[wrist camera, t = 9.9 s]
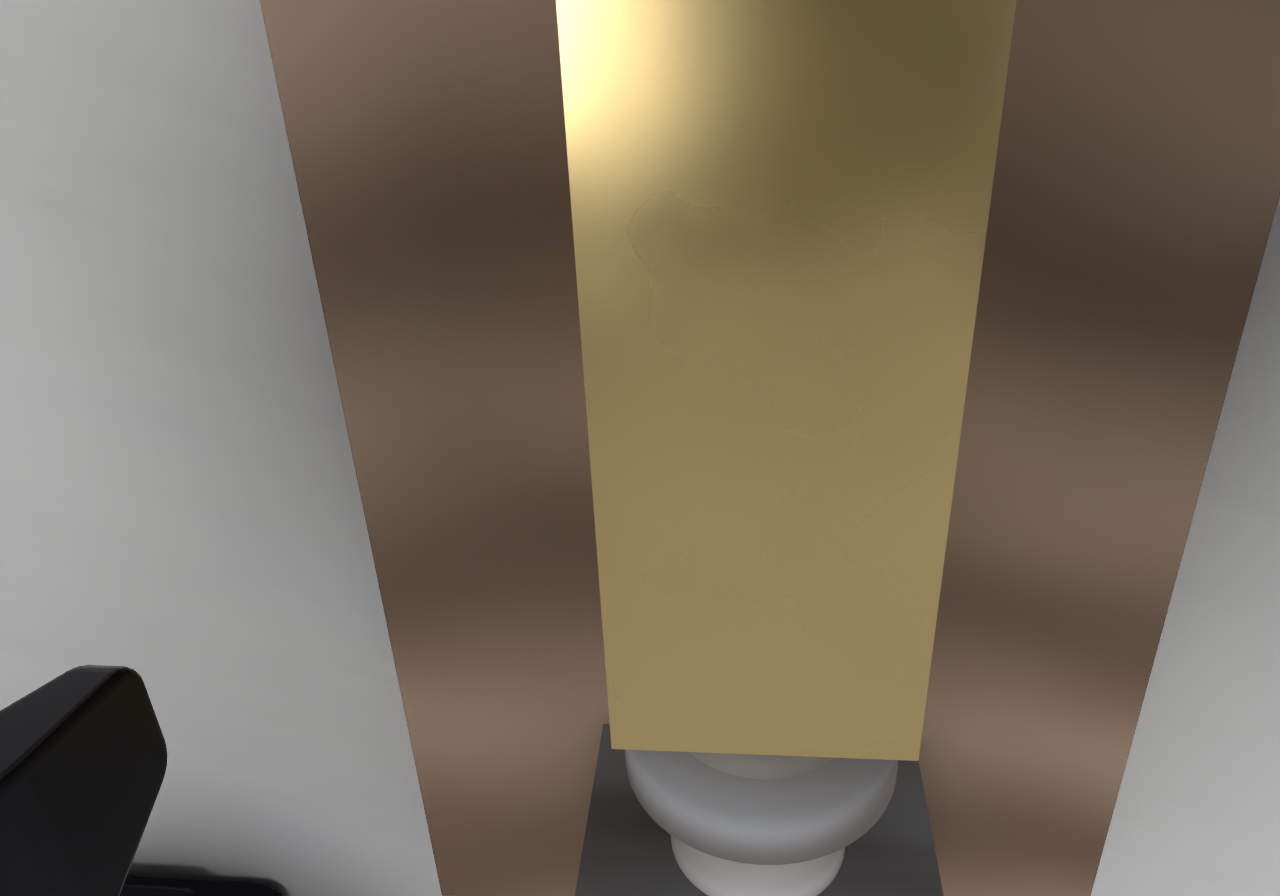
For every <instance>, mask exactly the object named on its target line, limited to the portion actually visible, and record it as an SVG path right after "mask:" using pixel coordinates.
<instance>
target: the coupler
mask: <svg viewBox="0 0 1280 896" xmlns="http://www.w3.org/2000/svg"><path fill="white" fill-rule="evenodd" d="M1016 1H1017V0H556V8H557V22H558V35H559V49H560V62H561V76H562V89H563V102H564V116H565V129H566V143H567V156H568V170H569V183H570V197H571V210H572V224H573V237H574V250H575V264H576V277H577V291H578V304H579V318H580V331H581V345H582V358H583V371H584V385H585V398H586V412H587V425H588V439H589V452H590V466H591V479H592V493H593V506H594V519H595V533H596V546H597V560H598V573H599V587H600V600H601V614H602V627H603V641H604V654H605V667H606V681H607V694H608V708H609V721H610V735H611V748H612V749H625V750H651V751H677V752H702V753H728V754H754V755H780V756H805V757H831V758H857V759H882V760H908V761H918V760H919V752H920V745H921V737H922V729H923V721H924V714H925V706H926V698H927V690H928V683H929V675H930V667H931V659H932V652H933V644H934V636H935V628H936V621H937V613H938V605H939V597H940V590H941V582H942V574H943V566H944V559H945V551H946V543H947V535H948V528H949V520H950V512H951V504H952V497H953V489H954V481H955V473H956V466H957V458H958V450H959V442H960V435H961V427H962V419H963V411H964V404H965V396H966V388H967V380H968V373H969V365H970V357H971V349H972V342H973V334H974V326H975V318H976V311H977V303H978V295H979V287H980V280H981V272H982V264H983V256H984V249H985V241H986V233H987V225H988V218H989V210H990V202H991V194H992V187H993V179H994V171H995V163H996V156H997V148H998V140H999V132H1000V125H1001V117H1002V109H1003V101H1004V94H1005V86H1006V78H1007V70H1008V63H1009V55H1010V47H1011V39H1012V32H1013V24H1014V16H1015V8H1016Z"/></svg>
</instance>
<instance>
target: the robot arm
mask: <svg viewBox="0 0 1280 896" xmlns="http://www.w3.org/2000/svg"><path fill="white" fill-rule="evenodd" d="M166 765H167V749H166V744H165V740H164V737H163V734H162V732H161V729H160V726H159V723H158V721H157V718H156V715H155V712H154V710H153V707H152V704H151V701H150V699H149V696H148V693H147V690H146V687H145V685H144V682H143V680H142V678H141V676H140V675H139V674H138V673H137V672H136V671H135V670H133V669H131V668H128V667H124V666H96V665H86V666H79V667H76V668H73V669H71V670H69V671H67V672H65V673H64V674H62V675H60V676H59V677H57V678H55V679H54V680H52V681H50V682H48V683H47V684H45V685H43V686H42V687H40V688H38V689H37V690H35V691H33V692H32V693H30V694H28V695H26V696H25V697H23V698H21V699H20V700H18V701H16V702H15V703H13V704H11V705H10V706H8V707H6V708H4V709H3V710H1V711H0V896H282V895H281V894H280V893H279V892H278V891H277V890H275V889H273V888H271V887H269V886H264V885H255V884H236V883H218V882H200V881H182V880H163V879H145V878H127V874H128V872H129V869H130V866H131V864H132V861H133V859H134V856H135V853H136V851H137V848H138V845H139V843H140V840H141V837H142V835H143V832H144V829H145V827H146V824H147V821H148V819H149V816H150V813H151V811H152V808H153V806H154V803H155V800H156V798H157V795H158V792H159V790H160V787H161V784H162V782H163V778H164V775H165V771H166Z"/></svg>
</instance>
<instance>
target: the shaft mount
mask: <svg viewBox="0 0 1280 896" xmlns="http://www.w3.org/2000/svg"><path fill="white" fill-rule="evenodd" d="M260 3H261V8H262V13H263V18H264V23H265V28H266V33H267V37H268V42H269V47H270V52H271V57H272V62H273V67H274V72H275V77H276V82H277V87H278V92H279V96H280V101H281V106H282V111H283V116H284V121H285V126H286V131H287V136H288V141H289V146H290V150H291V155H292V160H293V165H294V170H295V175H296V180H297V185H298V190H299V195H300V200H301V204H302V209H303V214H304V219H305V224H306V229H307V234H308V239H309V244H310V249H311V254H312V259H313V263H314V268H315V273H316V278H317V283H318V288H319V293H320V298H321V303H322V308H323V313H324V317H325V322H326V327H327V332H328V337H329V342H330V347H331V352H332V357H333V362H334V367H335V372H336V376H337V381H338V386H339V391H340V396H341V401H342V406H343V411H344V416H345V421H346V426H347V430H348V435H349V440H350V445H351V450H352V455H353V460H354V465H355V470H356V475H357V480H358V485H359V489H360V494H361V499H362V504H363V509H364V514H365V519H366V524H367V529H368V534H369V539H370V543H371V548H372V553H373V558H374V563H375V568H376V573H377V578H378V583H379V588H380V593H381V597H382V602H383V607H384V612H385V617H386V622H387V627H388V632H389V637H390V642H391V647H392V652H393V656H394V661H395V666H396V671H397V676H398V681H399V686H400V691H401V696H402V701H403V706H404V710H405V715H406V720H407V725H408V730H409V735H410V740H411V745H412V750H413V755H414V760H415V765H416V769H417V774H418V779H419V784H420V789H421V794H422V799H423V804H424V809H425V814H426V819H427V823H428V828H429V833H430V838H431V843H432V848H433V853H434V858H435V863H436V868H437V873H438V878H439V882H440V887H441V892H442V895H443V896H1091V892H1092V888H1093V884H1094V881H1095V877H1096V873H1097V870H1098V866H1099V862H1100V859H1101V855H1102V851H1103V847H1104V844H1105V840H1106V836H1107V833H1108V829H1109V825H1110V821H1111V818H1112V814H1113V810H1114V807H1115V803H1116V799H1117V796H1118V792H1119V788H1120V784H1121V781H1122V777H1123V773H1124V770H1125V766H1126V762H1127V759H1128V755H1129V751H1130V747H1131V744H1132V740H1133V736H1134V733H1135V729H1136V725H1137V721H1138V718H1139V714H1140V710H1141V707H1142V703H1143V699H1144V696H1145V692H1146V688H1147V684H1148V681H1149V677H1150V673H1151V670H1152V666H1153V662H1154V658H1155V655H1156V651H1157V647H1158V644H1159V640H1160V636H1161V633H1162V629H1163V625H1164V621H1165V618H1166V614H1167V610H1168V607H1169V603H1170V599H1171V595H1172V592H1173V588H1174V584H1175V581H1176V577H1177V573H1178V570H1179V566H1180V562H1181V558H1182V555H1183V551H1184V547H1185V544H1186V540H1187V536H1188V533H1189V529H1190V525H1191V521H1192V518H1193V514H1194V510H1195V507H1196V503H1197V499H1198V495H1199V492H1200V488H1201V484H1202V481H1203V477H1204V473H1205V470H1206V466H1207V462H1208V458H1209V455H1210V451H1211V447H1212V444H1213V440H1214V436H1215V432H1216V429H1217V425H1218V421H1219V418H1220V414H1221V410H1222V407H1223V403H1224V399H1225V395H1226V392H1227V388H1228V384H1229V381H1230V377H1231V373H1232V370H1233V366H1234V362H1235V358H1236V355H1237V351H1238V347H1239V344H1240V340H1241V336H1242V332H1243V329H1244V325H1245V321H1246V318H1247V314H1248V310H1249V307H1250V303H1251V299H1252V295H1253V292H1254V288H1255V284H1256V281H1257V277H1258V273H1259V269H1260V266H1261V262H1262V258H1263V255H1264V251H1265V247H1266V244H1267V240H1268V236H1269V232H1270V229H1271V225H1272V221H1273V218H1274V214H1275V210H1276V207H1277V203H1278V199H1279V195H1280V0H1017V1H1016V8H1015V16H1014V24H1013V32H1012V39H1011V47H1010V55H1009V63H1008V70H1007V78H1006V86H1005V94H1004V101H1003V109H1002V117H1001V125H1000V132H999V140H998V148H997V156H996V163H995V171H994V179H993V187H992V194H991V202H990V210H989V218H988V225H987V233H986V241H985V249H984V256H983V264H982V272H981V280H980V287H979V295H978V303H977V311H976V318H975V326H974V334H973V342H972V349H971V357H970V365H969V373H968V380H967V388H966V396H965V404H964V411H963V419H962V427H961V435H960V442H959V450H958V458H957V466H956V473H955V481H954V489H953V497H952V504H951V512H950V520H949V528H948V535H947V543H946V551H945V559H944V566H943V574H942V582H941V590H940V597H939V605H938V613H937V621H936V628H935V636H934V644H933V652H932V659H931V667H930V675H929V683H928V690H927V698H926V706H925V714H924V721H923V729H922V737H921V745H920V752H919V760H918V761H908V760H882V759H857V758H831V757H805V756H780V755H754V754H728V753H702V752H677V751H651V750H625V749H612V748H611V735H610V721H609V708H608V694H607V681H606V667H605V654H604V641H603V627H602V614H601V600H600V587H599V573H598V560H597V546H596V533H595V519H594V506H593V493H592V479H591V466H590V452H589V439H588V425H587V412H586V398H585V385H584V371H583V358H582V345H581V331H580V318H579V304H578V291H577V277H576V264H575V250H574V237H573V224H572V210H571V197H570V183H569V170H568V156H567V143H566V129H565V116H564V102H563V89H562V76H561V62H560V49H559V35H558V22H557V8H556V0H260Z"/></svg>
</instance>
